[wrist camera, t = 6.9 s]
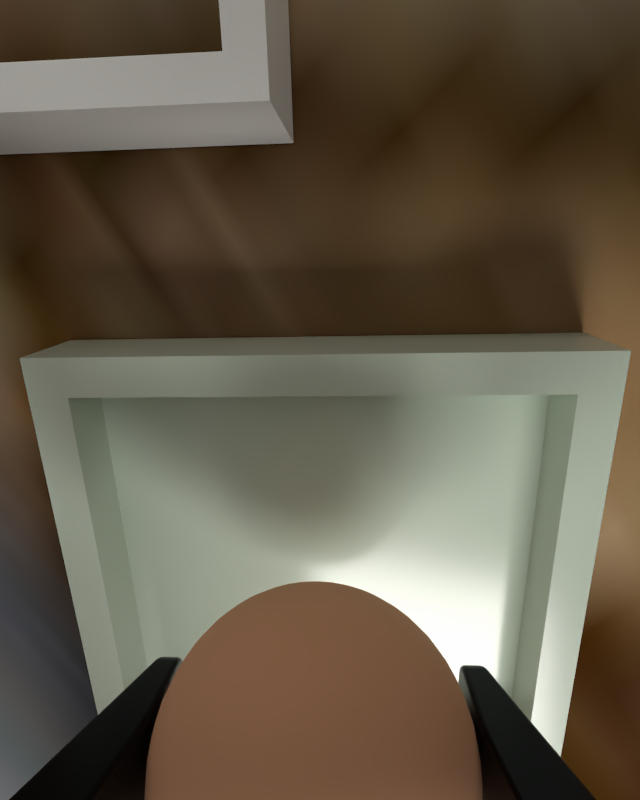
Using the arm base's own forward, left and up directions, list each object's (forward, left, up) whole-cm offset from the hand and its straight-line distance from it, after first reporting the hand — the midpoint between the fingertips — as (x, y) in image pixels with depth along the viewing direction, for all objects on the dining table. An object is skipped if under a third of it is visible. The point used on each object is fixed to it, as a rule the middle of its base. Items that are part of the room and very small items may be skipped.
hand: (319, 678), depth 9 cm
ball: (0, 0, -1) cm, 1 cm away
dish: (0, 0, -4) cm, 4 cm away
